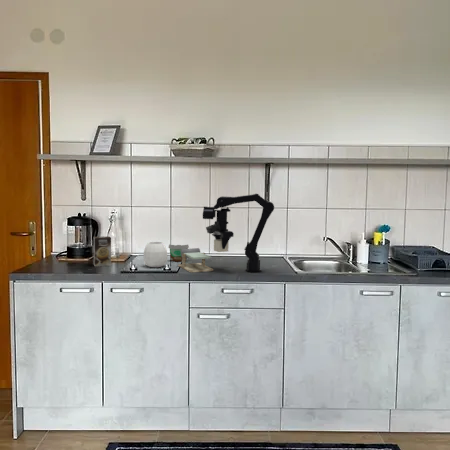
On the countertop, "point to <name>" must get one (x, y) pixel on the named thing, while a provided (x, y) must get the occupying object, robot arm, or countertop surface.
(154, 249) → the white round vase
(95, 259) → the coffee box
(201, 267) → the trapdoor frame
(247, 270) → the robot arm
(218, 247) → the beige cube
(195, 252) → the trapdoor
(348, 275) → the countertop surface
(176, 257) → the food container
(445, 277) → the countertop surface
